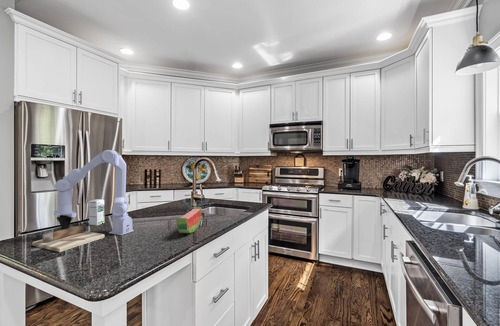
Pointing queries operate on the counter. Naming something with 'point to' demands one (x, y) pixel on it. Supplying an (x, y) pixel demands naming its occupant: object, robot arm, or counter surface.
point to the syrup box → (96, 212)
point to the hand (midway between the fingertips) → (65, 230)
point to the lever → (63, 233)
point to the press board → (69, 241)
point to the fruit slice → (189, 221)
